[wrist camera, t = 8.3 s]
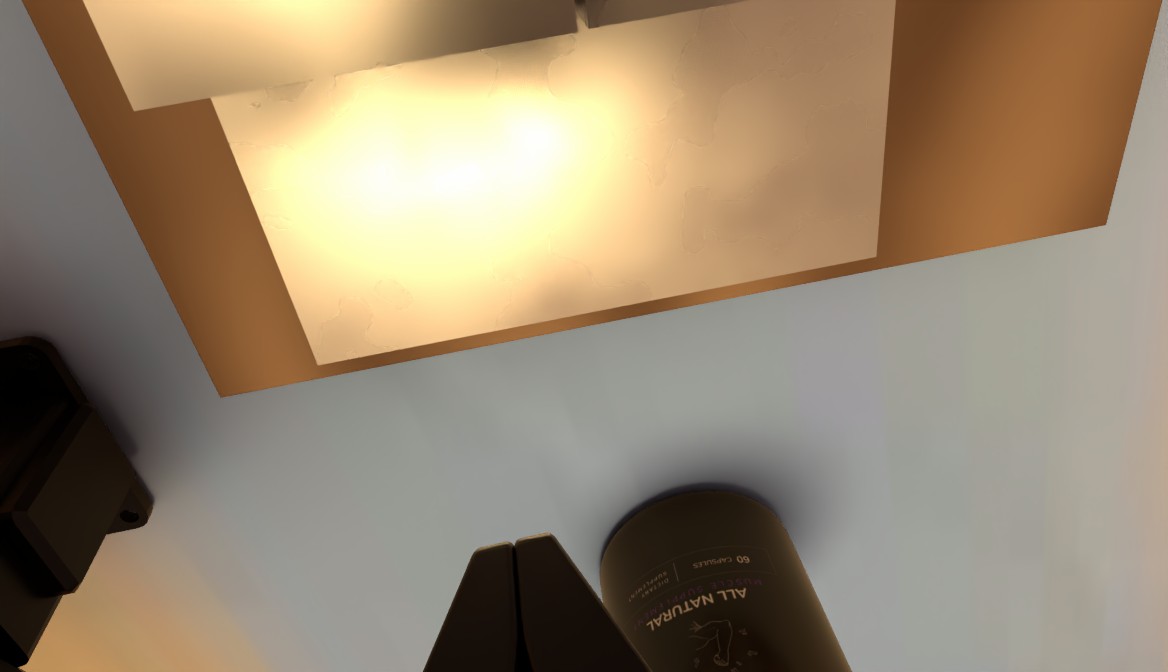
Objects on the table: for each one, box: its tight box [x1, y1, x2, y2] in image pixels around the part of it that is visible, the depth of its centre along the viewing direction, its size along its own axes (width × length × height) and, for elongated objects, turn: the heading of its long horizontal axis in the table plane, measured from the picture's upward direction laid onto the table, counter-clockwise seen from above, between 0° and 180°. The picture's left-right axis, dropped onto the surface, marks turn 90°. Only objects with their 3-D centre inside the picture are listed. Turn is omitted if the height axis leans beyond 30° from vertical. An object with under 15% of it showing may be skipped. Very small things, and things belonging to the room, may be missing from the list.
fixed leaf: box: [83, 0, 896, 365], centre depth 15 cm, size 14×11×4 cm
